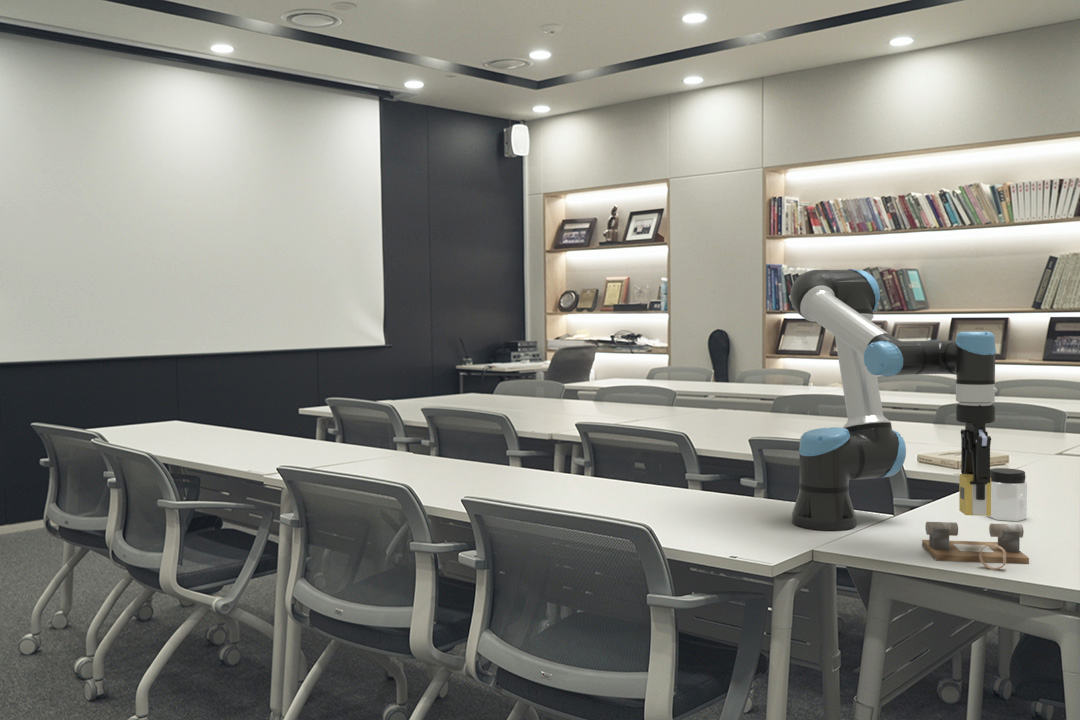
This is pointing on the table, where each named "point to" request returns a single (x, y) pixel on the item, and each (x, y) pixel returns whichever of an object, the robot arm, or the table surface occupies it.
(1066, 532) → the table surface
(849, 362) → the robot arm
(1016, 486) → the jar
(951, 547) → the shaft base
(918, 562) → the table surface
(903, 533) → the table surface
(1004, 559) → the rose gold watch bracelet
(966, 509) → the yellow rectangular block
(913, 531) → the table surface
